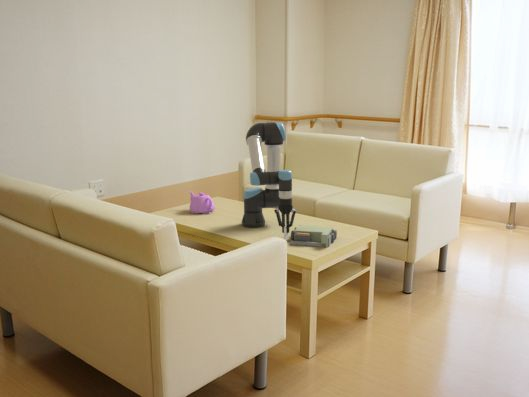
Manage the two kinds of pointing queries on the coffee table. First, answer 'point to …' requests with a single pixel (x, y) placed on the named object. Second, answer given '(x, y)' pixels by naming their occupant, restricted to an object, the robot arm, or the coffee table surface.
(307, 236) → the orange striped grey block
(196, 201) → the teapot
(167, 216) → the coffee table surface
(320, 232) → the green wheeled box
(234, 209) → the coffee table surface
